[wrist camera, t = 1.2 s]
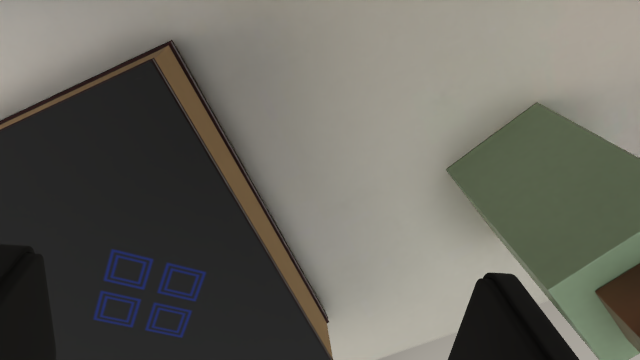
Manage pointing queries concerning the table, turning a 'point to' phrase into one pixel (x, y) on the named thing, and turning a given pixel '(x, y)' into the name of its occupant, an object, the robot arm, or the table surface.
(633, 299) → the block
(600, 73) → the table surface
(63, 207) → the book
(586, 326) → the block
